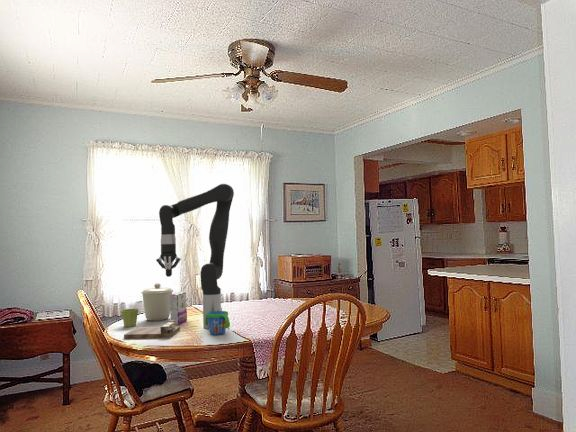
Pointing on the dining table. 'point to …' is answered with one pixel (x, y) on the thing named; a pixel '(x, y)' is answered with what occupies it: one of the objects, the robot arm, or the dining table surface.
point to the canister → (157, 302)
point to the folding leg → (167, 327)
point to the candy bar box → (178, 307)
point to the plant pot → (129, 317)
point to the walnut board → (150, 333)
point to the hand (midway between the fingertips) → (168, 276)
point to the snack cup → (217, 322)
